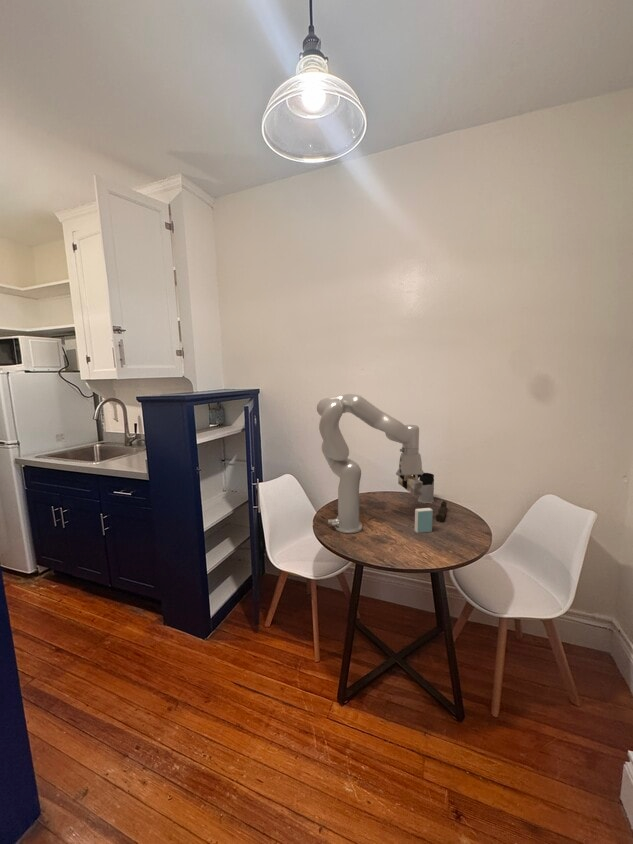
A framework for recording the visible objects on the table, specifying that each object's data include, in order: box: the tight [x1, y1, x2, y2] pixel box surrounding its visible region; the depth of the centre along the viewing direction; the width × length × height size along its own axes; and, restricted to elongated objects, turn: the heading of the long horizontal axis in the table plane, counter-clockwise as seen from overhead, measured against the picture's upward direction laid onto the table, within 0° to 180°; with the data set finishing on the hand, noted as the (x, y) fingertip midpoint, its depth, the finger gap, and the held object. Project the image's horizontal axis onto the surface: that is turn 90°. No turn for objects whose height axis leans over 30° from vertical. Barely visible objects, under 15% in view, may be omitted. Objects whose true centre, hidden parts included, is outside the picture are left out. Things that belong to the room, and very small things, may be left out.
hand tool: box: [434, 500, 448, 523], centre depth 160 cm, size 19×4×5 cm, turn 149°
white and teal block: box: [414, 507, 434, 534], centre depth 143 cm, size 7×3×10 cm, turn 99°
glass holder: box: [417, 472, 435, 504], centre depth 178 cm, size 9×14×15 cm, turn 86°
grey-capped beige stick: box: [397, 473, 423, 497], centre depth 156 cm, size 4×18×6 cm, turn 9°
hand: (409, 487), depth 156 cm, fingers closed on grey-capped beige stick, 4 cm apart
